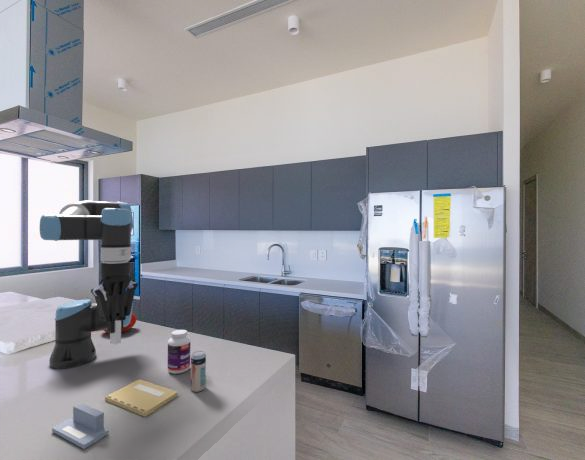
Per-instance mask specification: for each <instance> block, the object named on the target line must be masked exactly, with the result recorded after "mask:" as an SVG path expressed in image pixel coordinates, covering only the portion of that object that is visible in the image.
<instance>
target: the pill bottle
mask: <svg viewBox="0 0 585 460" xmlns="http://www.w3.org/2000/svg"><path fill="white" fill-rule="evenodd" d="M189 369H191V338H190V337H189V336H188V330H186V329H175V330H173V331H172V332H171V337H170V338H169V339H168V341H167V372H168V373H170V374H173V375H174V374H176V375H177V374H183V373H185V372H187V371H188V370H189Z"/></svg>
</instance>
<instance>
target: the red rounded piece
mask: <svg viewBox="0 0 585 460" xmlns="http://www.w3.org/2000/svg"><path fill="white" fill-rule="evenodd" d="M136 323H137V317H136V315H135V314H134V313H133V312H132V316H131V320H130V323H129V325H128V326H126V327H123V330H121V333H123V332H126V331H127V330H130V329H131V328H133V327H134V326H135V325H136ZM102 331H103V332H106V333H108V330H102Z"/></svg>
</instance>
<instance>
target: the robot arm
mask: <svg viewBox="0 0 585 460" xmlns="http://www.w3.org/2000/svg"><path fill="white" fill-rule="evenodd" d="M133 217H134V216H133V211H132V206H131V205H130V203H127V202H124V201H107V200H106V201H105V200H104V201H103V200H80V201H76V202H72V203H69V204H67V205H64V206H63V207H62V208H61V209H60V211H59V213H58V214H55V213H53V214H43V215H41V216H40V220H39V235H40V236H39V237H40V238H41V240H44V241H53V242H54V241H55V242H58V241H79V240H80V241H100V243H101V244H100V261H101V264H100V276H101V279H100V282H99V285H98V286H96V288H92V289H90V293H91V294H92V295H93V297H94V299H95V302H92V299H89V298H87V299H78V300H74V301H70V302H66V303H64V304H62V305H59V306H58V307H57V308H56V310H55V318H54V320H55V321H54V322H55V325H54V326H55V336H54V338H55V339H54V340H55V341H54V347H53V349H52V352H51V355H50V357H49V360H48V361H49V367H51V368H53V369H69V368H73V367H74V368H75V367H77V366H82V365H84V364H85V365H86V364H87V363H89V362H91V361H93V360H94V359H95V358H96V357H97V350H96V347H95V345H94V342H93V339H92V333H93V332H101V331H103V330H108V332H107V333H109V343H110V344H113V345H119V344H121V343H122V332H121V330H123V327H126V326H128V325H129V323H130V320H131V316H132V313H133V307H134V306H133V305H134V298H135V293H136V290H137V288H138V286H139V283H138V282H134V281H132V278H131V276H130V274H131V271H132V269H131V268H132V263H131V262H130V261H131V260H132V247H131V246H132V244H131V241H132V230H133V229H134V219H133Z"/></svg>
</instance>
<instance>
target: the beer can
mask: <svg viewBox="0 0 585 460" xmlns="http://www.w3.org/2000/svg"><path fill="white" fill-rule="evenodd" d="M206 369H207V355H206V353H205V351H204V350H197V351H193V353H192V354H191V355H190V391H192V392H195V393H196V392H197V393H198V392H202V391H203V390H205V388H206V386H207V385H206V382H207V381H206V380H207V379H206V377H207V375H206V374H207V373H206V371H207V370H206Z"/></svg>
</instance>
